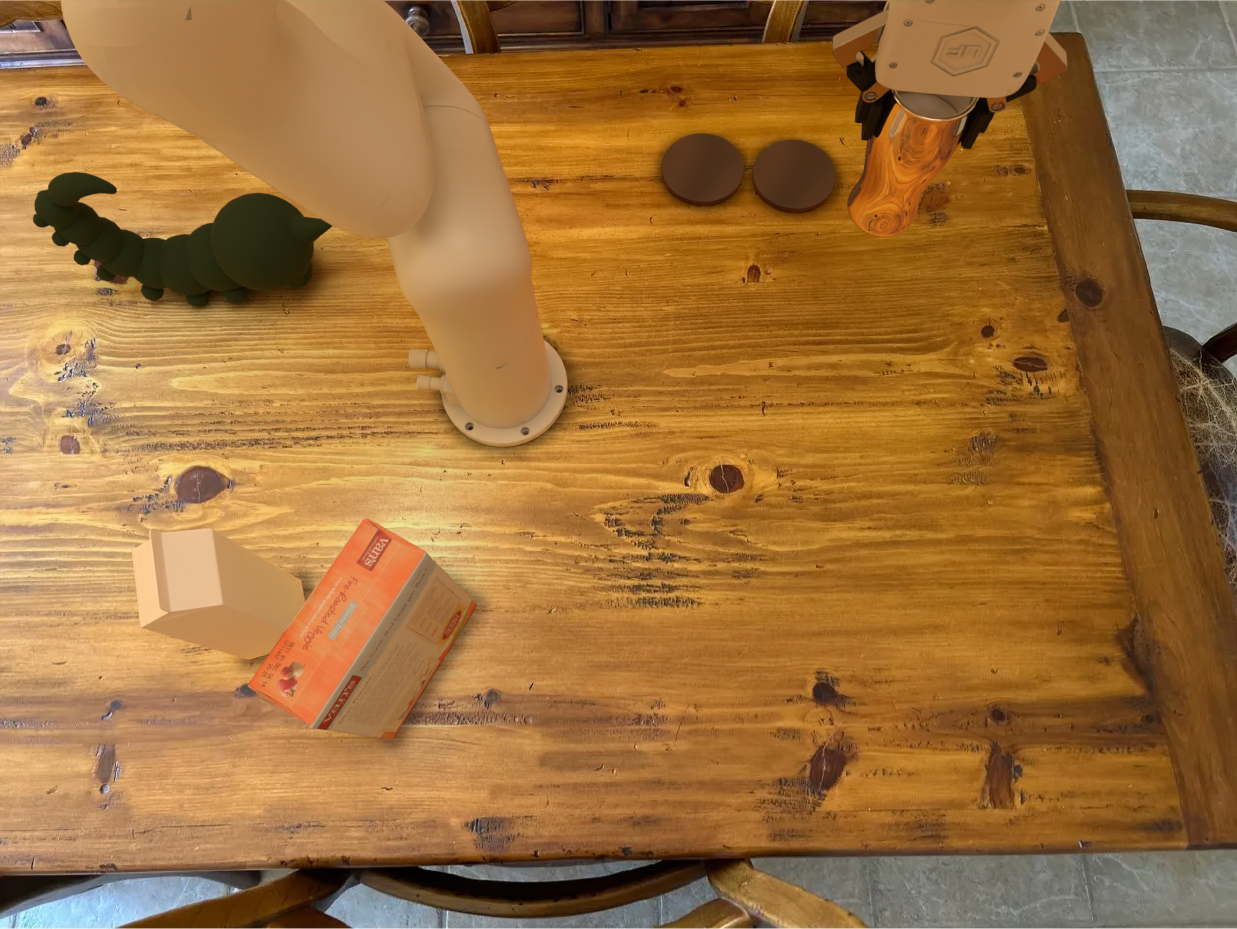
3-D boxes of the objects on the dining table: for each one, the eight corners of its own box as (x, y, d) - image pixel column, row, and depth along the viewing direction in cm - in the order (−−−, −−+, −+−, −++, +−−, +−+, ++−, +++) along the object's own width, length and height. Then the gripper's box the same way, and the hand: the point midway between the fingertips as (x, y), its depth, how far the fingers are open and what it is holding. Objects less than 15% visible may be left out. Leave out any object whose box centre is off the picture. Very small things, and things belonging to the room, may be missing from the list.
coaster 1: (658, 202, 96) (658, 198, 95) (664, 135, 99) (665, 130, 98) (741, 208, 96) (741, 204, 95) (745, 140, 99) (745, 135, 98)
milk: (248, 660, 81) (112, 623, 60) (238, 597, 82) (103, 539, 62) (314, 641, 81) (202, 597, 60) (303, 578, 83) (190, 515, 62)
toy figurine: (134, 333, 94) (363, 308, 92) (-3, 231, 76) (278, 196, 74) (144, 256, 97) (366, 230, 95) (15, 141, 79) (285, 105, 77)
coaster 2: (750, 209, 96) (751, 205, 95) (754, 141, 99) (755, 136, 98) (833, 215, 95) (835, 211, 95) (835, 147, 98) (836, 142, 98)
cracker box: (426, 573, 83) (363, 510, 63) (480, 605, 82) (432, 552, 62) (337, 706, 79) (240, 684, 59) (393, 742, 78) (312, 731, 58)
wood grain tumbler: (916, 248, 77) (979, 130, 63) (836, 234, 78) (881, 113, 63) (924, 182, 79) (988, 54, 65) (847, 169, 80) (893, 39, 66)
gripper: (854, -40, 51) (800, 160, 68) (1162, -19, 50) (1030, 179, 67) (858, -133, 54) (805, 82, 71) (1151, -114, 53) (1027, 100, 70)
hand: (915, 128), depth 69 cm, fingers closed on wood grain tumbler, 7 cm apart
